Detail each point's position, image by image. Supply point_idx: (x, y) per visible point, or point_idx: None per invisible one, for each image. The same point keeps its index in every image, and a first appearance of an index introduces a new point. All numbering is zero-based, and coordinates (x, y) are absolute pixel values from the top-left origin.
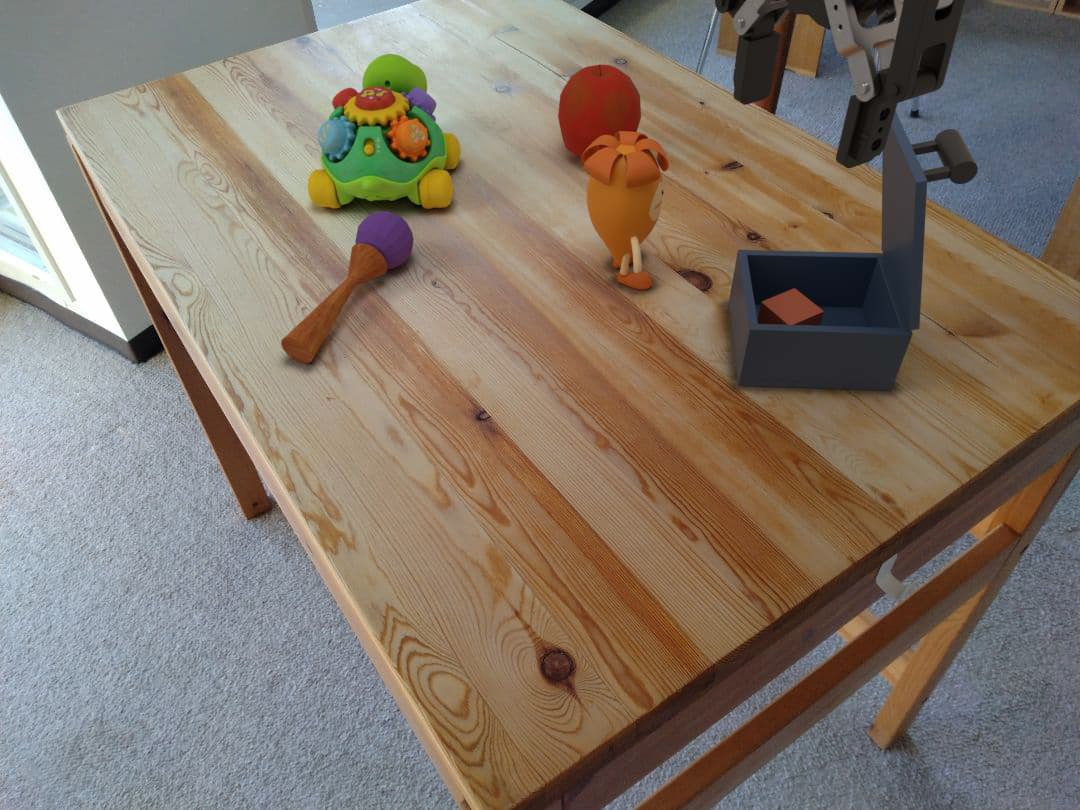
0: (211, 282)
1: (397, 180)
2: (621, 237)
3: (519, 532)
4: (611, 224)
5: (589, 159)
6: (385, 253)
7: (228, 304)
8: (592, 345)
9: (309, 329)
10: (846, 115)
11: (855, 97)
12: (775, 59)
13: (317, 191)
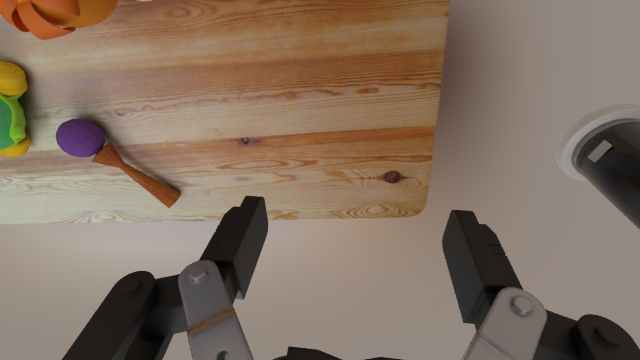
0: (104, 207)
1: (10, 114)
2: (115, 4)
3: (324, 159)
4: (105, 16)
5: (38, 37)
6: (98, 145)
7: (125, 206)
8: (206, 52)
9: (164, 197)
10: (456, 296)
11: (470, 321)
12: (246, 230)
13: (20, 153)
